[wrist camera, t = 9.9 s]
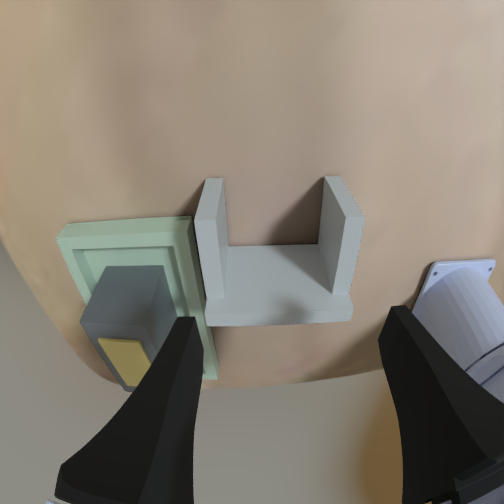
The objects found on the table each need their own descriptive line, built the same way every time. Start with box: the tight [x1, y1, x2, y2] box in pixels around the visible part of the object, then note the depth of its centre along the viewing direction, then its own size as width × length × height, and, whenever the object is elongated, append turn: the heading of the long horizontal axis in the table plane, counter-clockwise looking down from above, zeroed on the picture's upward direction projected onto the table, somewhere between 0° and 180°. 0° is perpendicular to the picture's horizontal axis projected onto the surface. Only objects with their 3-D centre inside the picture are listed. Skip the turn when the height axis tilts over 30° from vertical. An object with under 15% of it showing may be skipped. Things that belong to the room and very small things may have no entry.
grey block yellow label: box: [80, 265, 178, 392], centre depth 22 cm, size 9×5×6 cm, turn 2°
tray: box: [56, 216, 219, 379], centre depth 24 cm, size 17×10×2 cm, turn 2°
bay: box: [194, 176, 365, 326], centre depth 17 cm, size 6×8×6 cm
